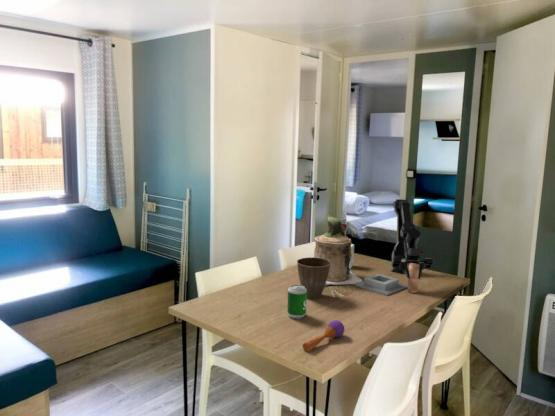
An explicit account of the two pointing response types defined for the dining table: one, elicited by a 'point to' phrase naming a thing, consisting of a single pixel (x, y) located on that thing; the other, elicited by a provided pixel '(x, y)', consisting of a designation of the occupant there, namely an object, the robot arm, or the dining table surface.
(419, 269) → the robot arm
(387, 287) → the socket block
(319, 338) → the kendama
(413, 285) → the peg
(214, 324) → the dining table surface
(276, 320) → the dining table surface
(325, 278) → the plant pot
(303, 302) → the soda can
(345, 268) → the cookie jar
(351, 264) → the supplement box
